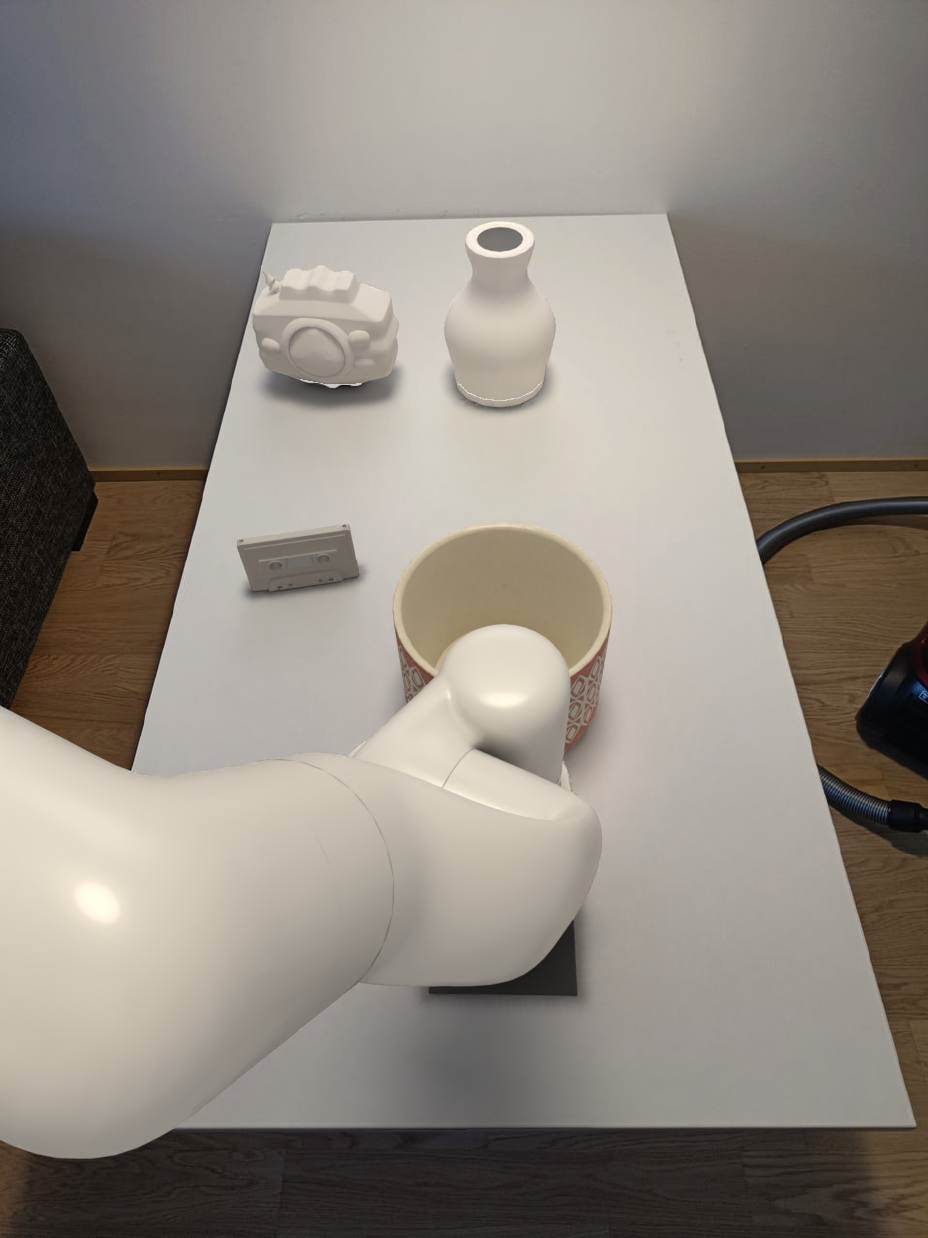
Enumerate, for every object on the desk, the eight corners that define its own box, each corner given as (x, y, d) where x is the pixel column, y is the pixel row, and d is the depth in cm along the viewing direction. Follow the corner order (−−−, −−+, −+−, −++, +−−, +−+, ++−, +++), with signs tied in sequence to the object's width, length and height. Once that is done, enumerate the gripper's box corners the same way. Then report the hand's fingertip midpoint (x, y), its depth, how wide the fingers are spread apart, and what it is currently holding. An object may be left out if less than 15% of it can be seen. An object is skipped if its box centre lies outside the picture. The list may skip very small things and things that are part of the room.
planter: (607, 776, 83) (625, 691, 71) (403, 782, 83) (388, 698, 71) (587, 614, 94) (600, 518, 83) (408, 619, 95) (395, 524, 83)
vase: (556, 411, 114) (565, 269, 98) (446, 414, 115) (437, 273, 99) (549, 344, 123) (557, 204, 107) (447, 347, 123) (440, 207, 108)
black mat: (577, 995, 71) (577, 994, 71) (429, 993, 72) (428, 992, 71) (567, 811, 81) (567, 810, 81) (436, 810, 81) (436, 809, 81)
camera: (282, 352, 124) (257, 246, 111) (408, 360, 122) (397, 253, 109) (260, 403, 117) (231, 296, 105) (392, 413, 115) (379, 304, 103)
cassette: (252, 595, 97) (235, 549, 91) (251, 582, 99) (235, 536, 92) (360, 579, 98) (351, 532, 92) (358, 567, 99) (349, 519, 93)
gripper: (371, 825, 56) (398, 919, 70) (637, 826, 55) (609, 921, 70) (380, 721, 60) (404, 830, 75) (627, 721, 60) (602, 831, 74)
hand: (503, 873), depth 72 cm, fingers closed on bar, 4 cm apart
